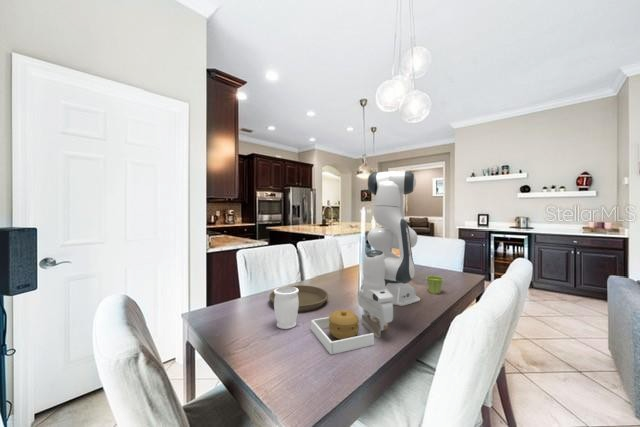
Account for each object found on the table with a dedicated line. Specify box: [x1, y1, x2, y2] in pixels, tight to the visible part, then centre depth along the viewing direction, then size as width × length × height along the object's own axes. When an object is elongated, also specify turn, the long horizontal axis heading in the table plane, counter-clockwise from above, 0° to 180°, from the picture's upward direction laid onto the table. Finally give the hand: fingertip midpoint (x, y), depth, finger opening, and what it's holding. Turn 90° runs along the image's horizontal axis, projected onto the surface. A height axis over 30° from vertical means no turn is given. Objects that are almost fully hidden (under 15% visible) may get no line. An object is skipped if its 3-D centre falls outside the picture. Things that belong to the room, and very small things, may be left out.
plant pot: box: [425, 275, 444, 295], centre depth 154 cm, size 9×9×9 cm
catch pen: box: [310, 316, 375, 355], centre depth 101 cm, size 17×20×4 cm
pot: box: [328, 309, 360, 340], centre depth 102 cm, size 12×12×10 cm
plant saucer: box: [268, 284, 329, 313], centre depth 139 cm, size 31×31×5 cm
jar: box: [273, 286, 299, 330], centre depth 112 cm, size 11×10×15 cm
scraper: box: [361, 313, 388, 339], centre depth 107 cm, size 8×12×4 cm, turn 21°
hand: (373, 324), depth 107 cm, fingers open, 8 cm apart
